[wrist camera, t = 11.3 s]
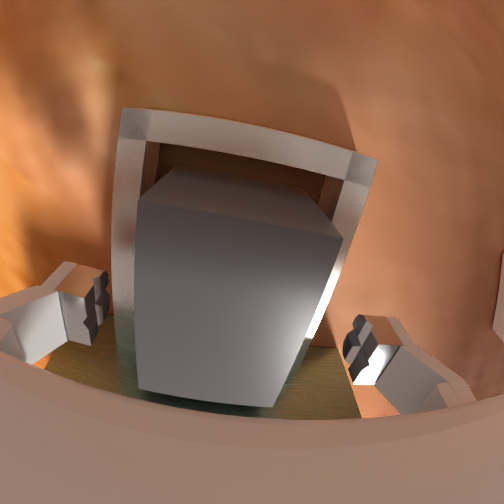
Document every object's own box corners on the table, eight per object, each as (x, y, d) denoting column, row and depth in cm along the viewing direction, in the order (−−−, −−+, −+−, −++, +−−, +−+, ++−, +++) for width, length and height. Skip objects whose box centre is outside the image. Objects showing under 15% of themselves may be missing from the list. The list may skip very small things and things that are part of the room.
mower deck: (410, 171, 11) (504, 219, 6) (266, 462, 22) (270, 516, 17) (80, 104, 9) (-20, 115, 4) (114, 441, 20) (102, 494, 15)
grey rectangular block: (303, 187, 12) (343, 238, 7) (263, 324, 15) (272, 407, 10) (178, 163, 11) (138, 199, 6) (163, 308, 14) (138, 388, 9)
